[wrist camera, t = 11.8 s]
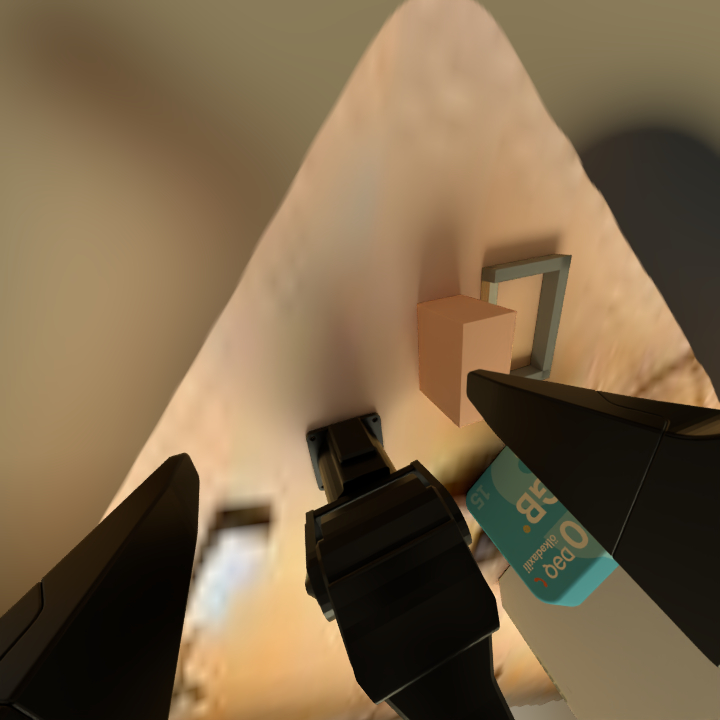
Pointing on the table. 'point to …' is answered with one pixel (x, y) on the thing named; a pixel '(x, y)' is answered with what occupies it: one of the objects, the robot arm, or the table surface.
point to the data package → (537, 533)
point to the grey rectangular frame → (549, 304)
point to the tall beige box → (461, 350)
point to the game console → (615, 653)
